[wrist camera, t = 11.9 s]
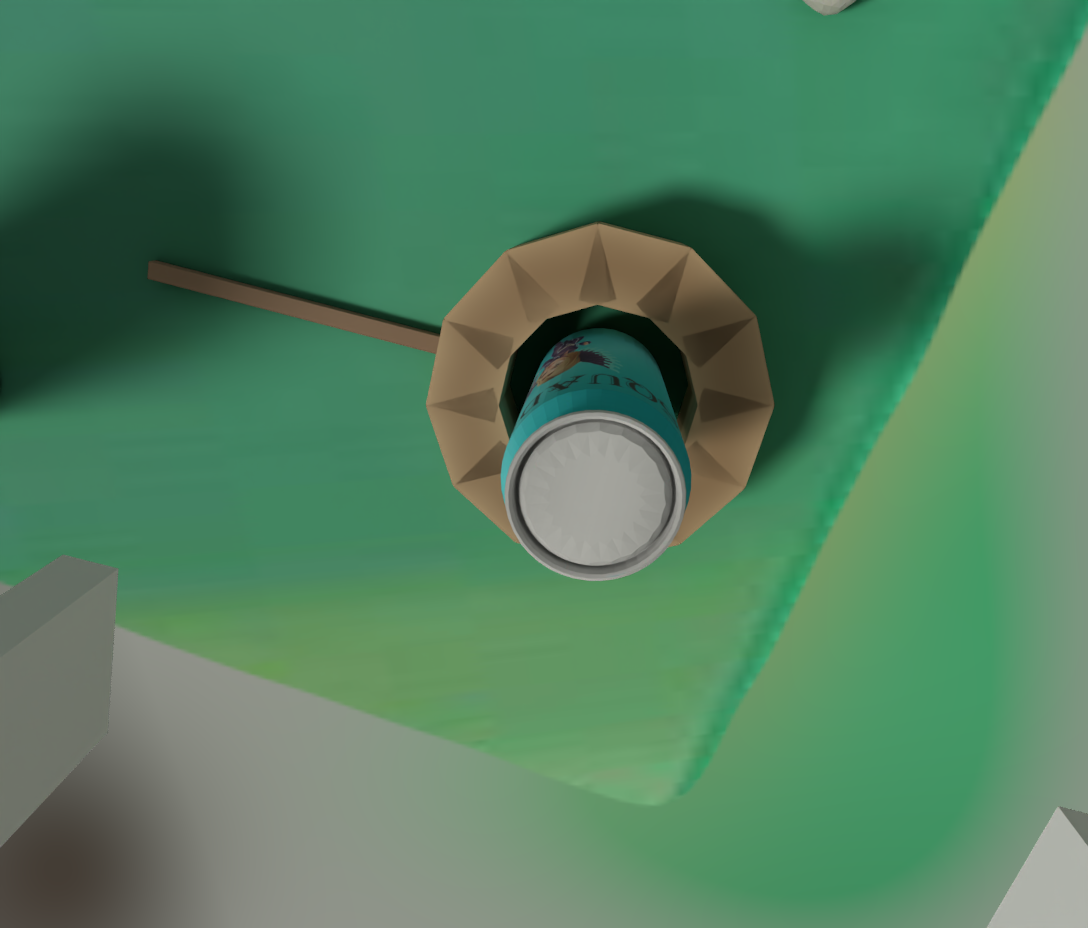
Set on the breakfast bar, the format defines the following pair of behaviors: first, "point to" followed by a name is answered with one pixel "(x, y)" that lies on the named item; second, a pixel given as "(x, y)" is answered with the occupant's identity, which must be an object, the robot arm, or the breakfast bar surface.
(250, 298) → the brown stick
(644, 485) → the beverage can
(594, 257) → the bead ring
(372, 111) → the breakfast bar surface
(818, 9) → the seashell
